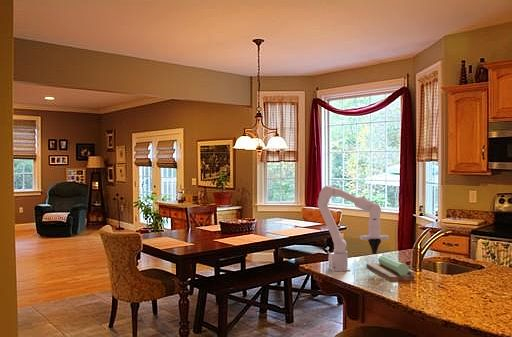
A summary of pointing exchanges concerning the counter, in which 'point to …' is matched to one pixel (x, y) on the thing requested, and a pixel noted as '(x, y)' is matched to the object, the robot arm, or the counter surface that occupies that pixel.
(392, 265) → the container
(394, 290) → the counter surface
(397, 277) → the shelf
